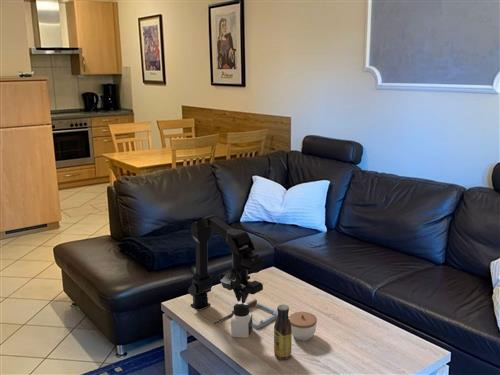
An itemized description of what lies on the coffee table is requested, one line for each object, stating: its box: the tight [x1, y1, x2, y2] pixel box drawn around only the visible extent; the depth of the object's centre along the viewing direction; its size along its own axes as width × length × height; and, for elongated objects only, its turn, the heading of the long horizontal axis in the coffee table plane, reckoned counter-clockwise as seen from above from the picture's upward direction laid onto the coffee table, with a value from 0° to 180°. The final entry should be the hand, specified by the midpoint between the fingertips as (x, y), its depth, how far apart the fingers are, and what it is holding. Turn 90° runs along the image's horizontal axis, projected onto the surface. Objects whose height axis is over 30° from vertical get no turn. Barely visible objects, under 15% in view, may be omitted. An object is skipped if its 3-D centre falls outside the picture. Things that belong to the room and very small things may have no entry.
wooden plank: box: [231, 298, 258, 317], centre depth 209 cm, size 1×14×2 cm, turn 135°
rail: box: [213, 312, 233, 325], centre depth 207 cm, size 1×23×1 cm, turn 136°
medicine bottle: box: [230, 302, 254, 339], centre depth 191 cm, size 7×7×12 cm
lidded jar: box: [288, 311, 318, 342], centre depth 187 cm, size 11×11×9 cm
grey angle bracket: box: [252, 302, 278, 330], centre depth 203 cm, size 12×14×2 cm
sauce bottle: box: [273, 304, 293, 361], centre depth 174 cm, size 6×6×20 cm
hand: (241, 302), depth 189 cm, fingers open, 2 cm apart
